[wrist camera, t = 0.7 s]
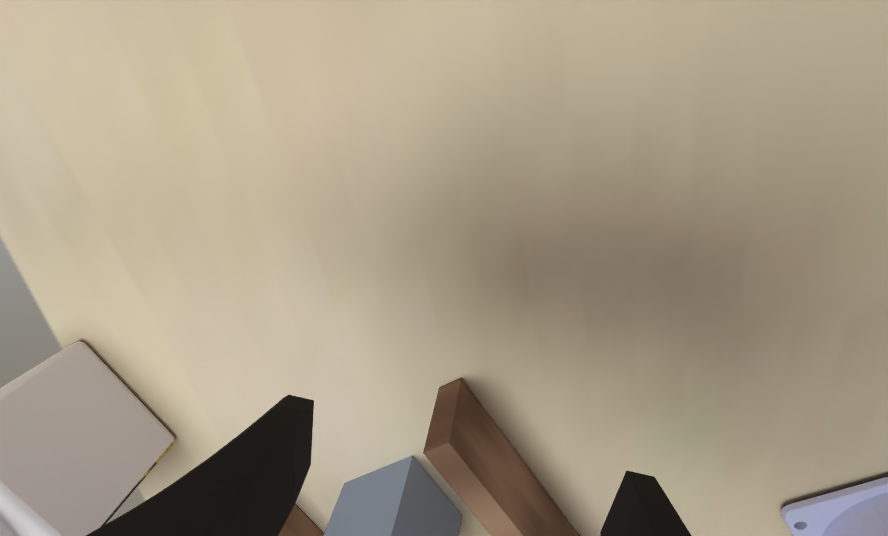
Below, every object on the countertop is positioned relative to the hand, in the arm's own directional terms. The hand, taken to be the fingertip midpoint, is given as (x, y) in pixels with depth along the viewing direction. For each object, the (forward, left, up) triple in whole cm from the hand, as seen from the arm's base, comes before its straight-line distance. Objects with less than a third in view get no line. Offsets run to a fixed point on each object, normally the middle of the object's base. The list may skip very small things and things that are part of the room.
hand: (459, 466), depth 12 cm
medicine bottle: (+4, +23, -10) cm, 25 cm away
